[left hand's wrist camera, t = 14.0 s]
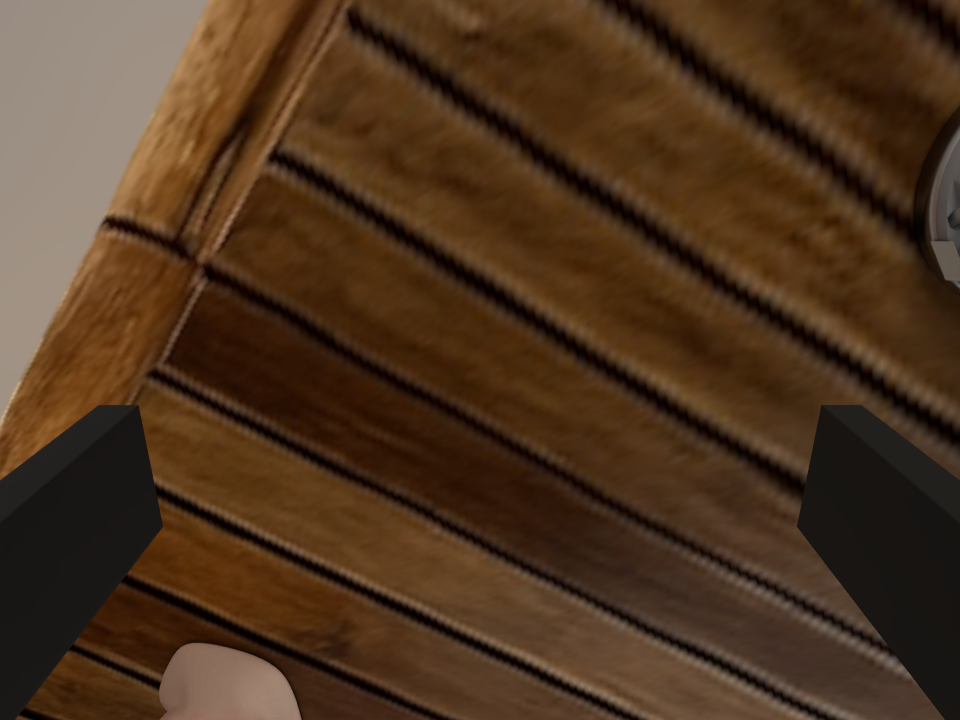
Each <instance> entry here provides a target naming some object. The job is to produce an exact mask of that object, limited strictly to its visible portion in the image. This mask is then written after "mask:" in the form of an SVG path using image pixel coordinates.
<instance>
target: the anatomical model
mask: <svg viewBox="0 0 960 720" xmlns="http://www.w3.org/2000/svg"><path fill="white" fill-rule="evenodd" d="M159 698H160V702H161V704H162V706H163V707H164V709H165V710H166V711H167V712H166V713H165V715H164V716H163V717H162V718H161V719H160V720H301V716H300V712H299V709H298V705H297V702H296V699H295V697H294V694H293V691H292V689H291V687H290V685H289V683H288V681H287V680H286V678H285V677H284V675H283V674H282V673H281V672H280V671H279V670H278V669H277V668H276V667H274V666H273V665H271V664H270V663H268V662H267V661H265V660H263V659H261V658H258V657H256V656H254V655H251V654H248V653H245V652H242V651H239V650H235V649H231V648H227V647H223V646H218V645H213V644H206V643H191V644H187V645H184V646H182V647H181V648H180V649H179V650H178V651H177V652H176V653H175V655H174V656H173V657H172V659H171V661H170V663H169V665H168V667H167V669H166V671H165V673H164V675H163V678H162V682H161V685H160V690H159Z"/></svg>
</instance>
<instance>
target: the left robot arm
mask: <svg viewBox="0 0 960 720" xmlns="http://www.w3.org/2000/svg"><path fill="white" fill-rule="evenodd" d="M915 221H916V230H917V235H918V240H919V243H920V247H921V250H922V252H923V254H924V257H925V259H926V261H927V262H928V264H929V266H930V267H931V269H932V270H933V272H934V273H935V274H936V275H937V277H938V278H939V279H940V280H941V281H942V282H943V283H944V284H945V285H947V286H948V287H949V288H951V289H952V290H953V291H955V292H956V293H958V294H960V106H959V107H958V109H957V110H956V111H955V112H954V113H953V114H952V116H951V117H950V119H949V120H948V121H947V123H946V124H945V125H944V127H943V128H942V130H941V132H940V133H939V135H938V137H937V138H936V140H935V142H934V144H933V146H932V148H931V150H930V152H929V154H928V157H927V159H926V161H925V164H924V167H923V170H922V173H921V176H920V180H919V184H918V189H917V195H916V204H915ZM162 527H163V524H162V519H161V514H160V509H159V504H158V500H157V495H156V490H155V485H154V480H153V475H152V470H151V465H150V460H149V455H148V450H147V445H146V440H145V435H144V430H143V425H142V420H141V415H140V411H139V406H138V405H98V406H97V407H96V408H94V409H93V410H92V411H90V412H89V413H88V414H87V415H85V416H84V417H83V418H81V419H80V420H79V421H77V422H76V423H75V424H73V425H72V426H71V427H70V428H68V429H67V430H66V431H64V432H63V433H62V434H60V435H59V436H58V437H56V438H55V439H54V440H53V441H51V442H50V443H49V444H47V445H46V446H45V447H43V448H42V449H41V450H39V451H38V452H37V453H36V454H34V455H33V456H32V457H30V458H29V459H28V460H26V461H25V462H24V463H23V464H21V465H20V466H19V467H17V468H16V469H15V470H13V471H12V472H11V473H9V474H8V475H7V476H6V477H4V478H3V479H2V480H0V720H15V719H16V718H17V716H18V715H19V714H20V712H21V711H22V710H23V708H24V707H25V706H26V705H27V703H28V702H29V701H30V699H31V698H32V697H33V695H34V694H35V693H36V692H37V690H38V689H39V688H40V686H41V685H42V684H43V682H44V681H45V680H46V678H47V677H48V676H49V675H50V673H51V672H52V671H53V669H54V668H55V667H56V665H57V664H58V663H59V662H60V660H61V659H62V658H63V656H64V655H65V654H66V652H67V651H68V650H69V649H70V647H71V646H72V645H73V643H74V642H75V641H76V639H77V638H78V637H79V635H80V634H81V633H82V632H83V630H84V629H85V628H86V626H87V625H88V624H89V622H90V621H91V620H92V619H93V617H94V616H95V615H96V613H97V612H98V611H99V609H100V608H101V607H102V605H103V604H104V603H105V602H106V600H107V599H108V598H109V596H110V595H111V594H112V592H113V591H114V590H115V589H116V587H117V586H118V585H119V583H120V582H121V581H122V579H123V578H124V577H125V575H126V574H127V573H128V572H129V570H130V569H131V568H132V566H133V565H134V564H135V562H136V561H137V560H138V559H139V557H140V556H141V555H142V553H143V552H144V551H145V549H146V548H147V547H148V546H149V544H150V543H151V542H152V540H153V539H154V538H155V536H156V535H157V534H158V532H159V531H160V530H161V529H162ZM797 527H798V529H799V530H800V531H801V532H802V534H803V535H804V536H805V538H806V539H807V540H808V542H809V543H810V544H811V546H812V547H813V548H814V549H815V551H816V552H817V553H818V555H819V556H820V557H821V559H822V560H823V561H824V562H825V564H826V565H827V566H828V568H829V569H830V570H831V572H832V573H833V574H834V575H835V577H836V578H837V579H838V581H839V582H840V583H841V585H842V586H843V587H844V589H845V590H846V591H847V592H848V594H849V595H850V596H851V598H852V599H853V600H854V602H855V603H856V604H857V605H858V607H859V608H860V609H861V611H862V612H863V613H864V615H865V616H866V617H867V619H868V620H869V621H870V622H871V624H872V625H873V626H874V628H875V629H876V630H877V632H878V633H879V634H880V635H881V637H882V638H883V639H884V641H885V642H886V643H887V645H888V646H889V647H890V649H891V650H892V651H893V652H894V654H895V655H896V656H897V658H898V659H899V660H900V662H901V663H902V664H903V665H904V667H905V668H906V669H907V671H908V672H909V673H910V675H911V676H912V677H913V678H914V680H915V681H916V682H917V684H918V685H919V686H920V688H921V689H922V690H923V692H924V693H925V694H926V695H927V697H928V698H929V699H930V701H931V702H932V703H933V705H934V706H935V707H936V708H937V710H938V711H939V712H940V714H941V715H942V716H943V718H944V719H945V720H960V480H958V479H957V478H956V477H954V476H953V475H952V474H951V473H949V472H948V471H947V470H945V469H944V468H943V467H941V466H940V465H939V464H937V463H936V462H935V461H934V460H932V459H931V458H930V457H928V456H927V455H926V454H924V453H923V452H922V451H921V450H919V449H918V448H917V447H915V446H914V445H913V444H911V443H910V442H909V441H907V440H906V439H905V438H904V437H902V436H901V435H900V434H898V433H897V432H896V431H894V430H893V429H892V428H890V427H889V426H888V425H887V424H885V423H884V422H883V421H881V420H880V419H879V418H877V417H876V416H875V415H873V414H872V413H871V412H870V411H868V410H867V409H866V408H864V407H863V406H862V405H822V406H821V411H820V415H819V420H818V425H817V430H816V435H815V440H814V445H813V450H812V455H811V460H810V465H809V470H808V475H807V480H806V485H805V490H804V495H803V500H802V504H801V509H800V514H799V519H798V524H797Z"/></svg>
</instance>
